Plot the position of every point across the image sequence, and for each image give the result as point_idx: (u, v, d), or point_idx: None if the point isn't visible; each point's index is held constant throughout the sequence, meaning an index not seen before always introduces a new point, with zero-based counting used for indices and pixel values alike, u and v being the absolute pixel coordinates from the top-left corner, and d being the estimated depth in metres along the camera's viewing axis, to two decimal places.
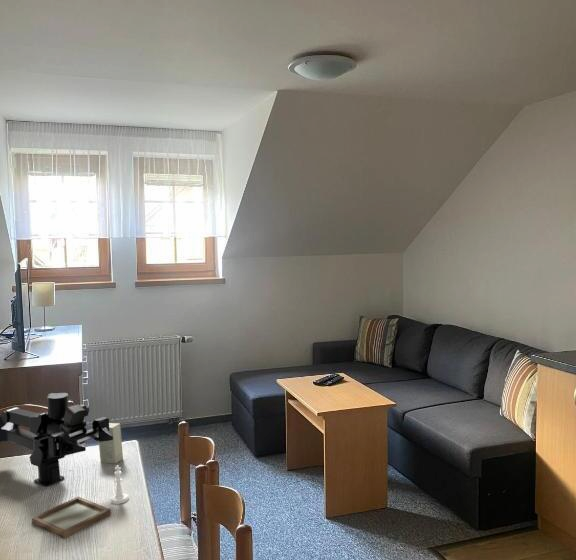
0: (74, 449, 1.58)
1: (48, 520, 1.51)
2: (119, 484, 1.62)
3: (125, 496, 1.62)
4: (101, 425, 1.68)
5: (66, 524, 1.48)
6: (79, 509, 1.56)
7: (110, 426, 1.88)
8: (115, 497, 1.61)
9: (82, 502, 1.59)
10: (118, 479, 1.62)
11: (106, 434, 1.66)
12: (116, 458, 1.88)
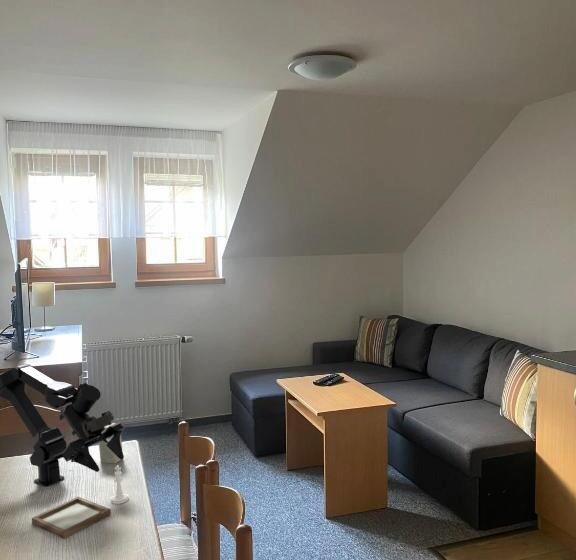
0: (88, 464, 1.59)
1: (48, 520, 1.51)
2: (119, 484, 1.62)
3: (125, 496, 1.62)
4: (117, 437, 1.69)
5: (66, 524, 1.48)
6: (79, 509, 1.56)
7: None
8: (115, 497, 1.61)
9: (82, 502, 1.59)
10: (118, 479, 1.62)
11: (118, 450, 1.67)
12: (116, 458, 1.88)
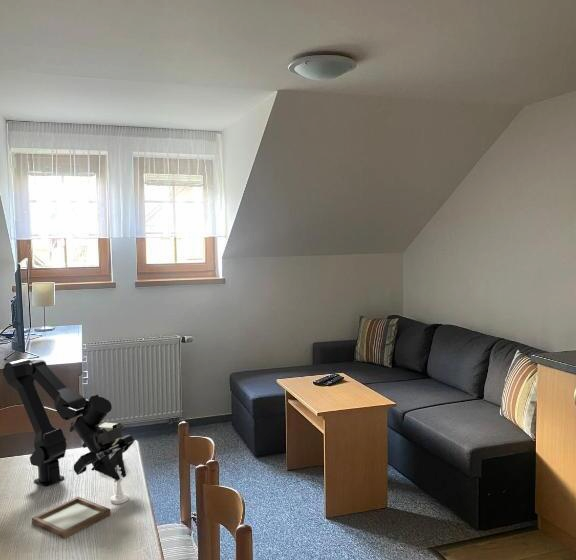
0: (108, 473, 1.60)
1: (48, 520, 1.51)
2: (119, 484, 1.62)
3: (125, 496, 1.62)
4: (119, 454, 1.64)
5: (66, 524, 1.48)
6: (79, 509, 1.56)
7: (110, 426, 1.88)
8: (115, 497, 1.61)
9: (82, 502, 1.59)
10: None
11: None
12: None
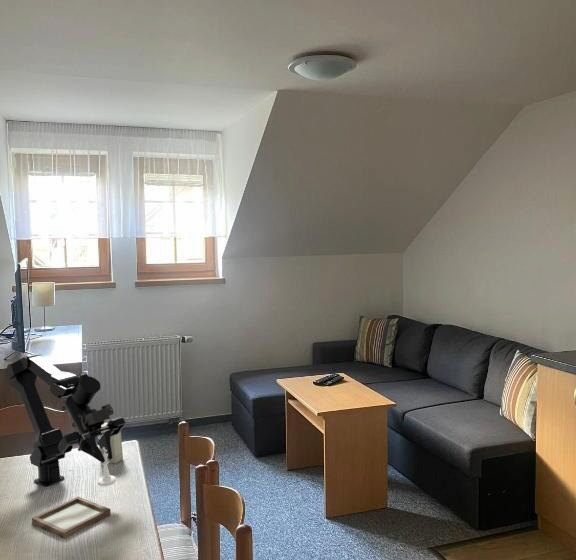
0: (94, 454, 1.57)
1: (48, 520, 1.51)
2: (106, 466, 1.58)
3: (112, 479, 1.58)
4: (107, 435, 1.60)
5: (66, 524, 1.48)
6: (79, 509, 1.56)
7: None
8: (102, 479, 1.58)
9: (82, 502, 1.59)
10: None
11: (107, 450, 1.59)
12: (116, 458, 1.88)
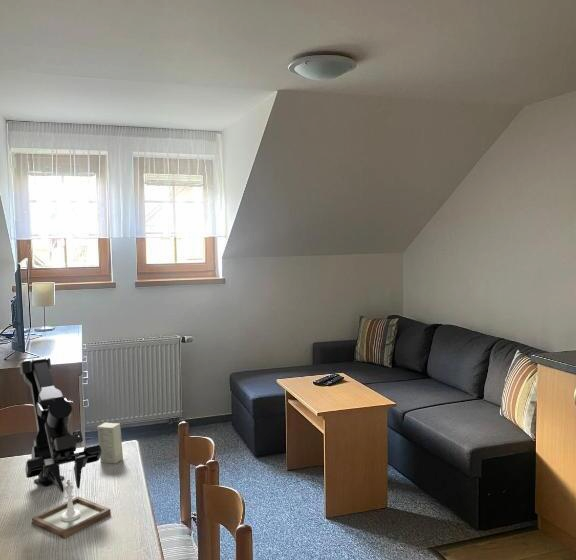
0: (55, 482, 1.51)
1: (48, 520, 1.51)
2: (69, 500, 1.51)
3: (74, 514, 1.51)
4: (78, 462, 1.54)
5: (66, 524, 1.48)
6: (79, 509, 1.56)
7: (110, 426, 1.88)
8: (65, 513, 1.52)
9: (82, 502, 1.59)
10: (68, 495, 1.51)
11: (76, 478, 1.52)
12: (116, 458, 1.88)
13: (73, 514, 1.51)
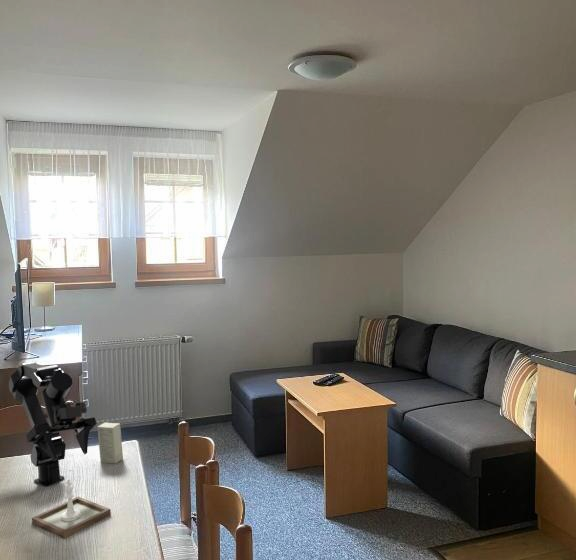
0: (47, 450, 1.57)
1: (48, 520, 1.51)
2: (69, 500, 1.51)
3: (74, 514, 1.51)
4: (86, 430, 1.66)
5: (66, 524, 1.48)
6: (79, 509, 1.56)
7: (110, 426, 1.88)
8: (65, 513, 1.52)
9: (82, 502, 1.59)
10: (68, 495, 1.51)
11: (83, 444, 1.64)
12: (116, 458, 1.88)
13: (73, 514, 1.51)
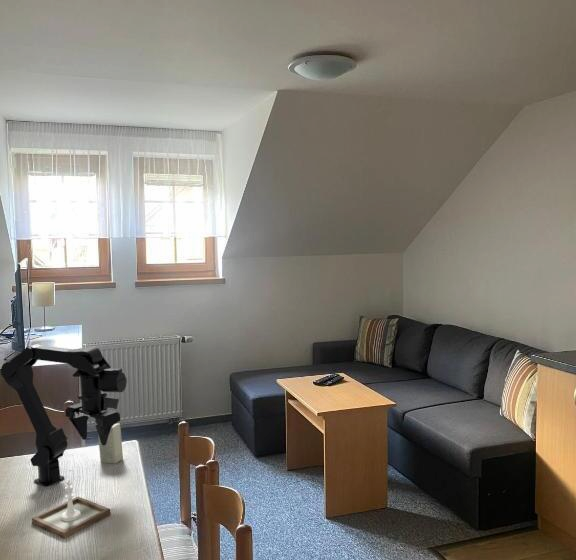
0: (104, 435, 1.68)
1: (48, 520, 1.51)
2: (69, 500, 1.51)
3: (74, 514, 1.51)
4: None
5: (66, 524, 1.48)
6: (79, 509, 1.56)
7: None
8: (65, 513, 1.52)
9: (82, 502, 1.59)
10: (68, 495, 1.51)
11: (85, 430, 1.75)
12: (116, 458, 1.88)
13: (73, 514, 1.51)
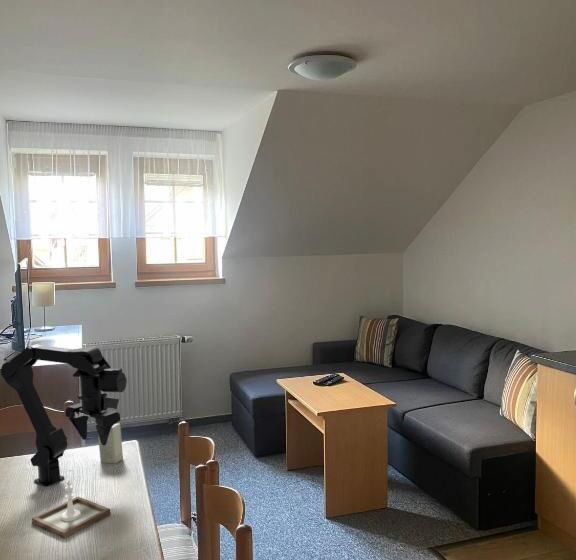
0: (104, 435, 1.68)
1: (48, 520, 1.51)
2: (69, 500, 1.51)
3: (74, 514, 1.51)
4: None
5: (66, 524, 1.48)
6: (79, 509, 1.56)
7: None
8: (65, 513, 1.52)
9: (82, 502, 1.59)
10: (68, 495, 1.51)
11: (85, 430, 1.75)
12: (116, 458, 1.88)
13: (73, 514, 1.51)
